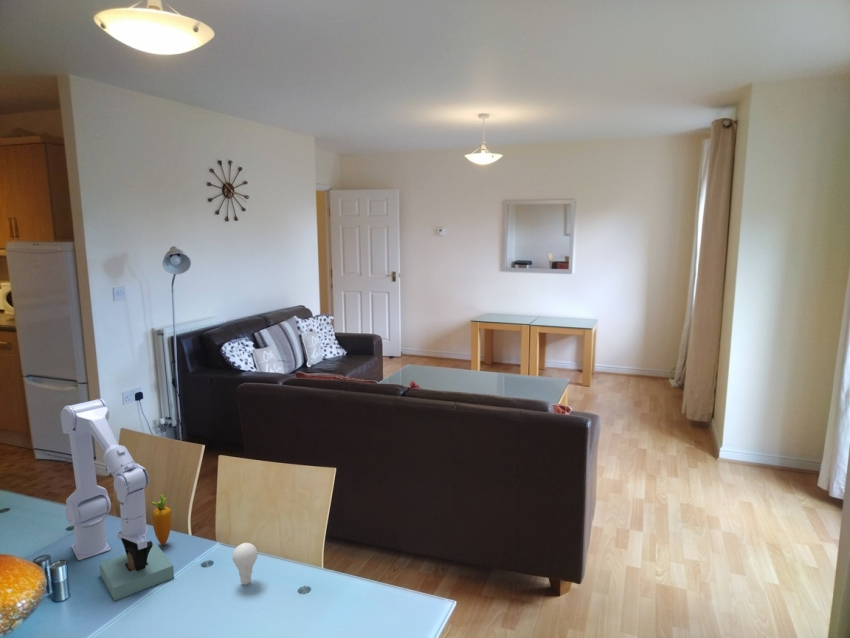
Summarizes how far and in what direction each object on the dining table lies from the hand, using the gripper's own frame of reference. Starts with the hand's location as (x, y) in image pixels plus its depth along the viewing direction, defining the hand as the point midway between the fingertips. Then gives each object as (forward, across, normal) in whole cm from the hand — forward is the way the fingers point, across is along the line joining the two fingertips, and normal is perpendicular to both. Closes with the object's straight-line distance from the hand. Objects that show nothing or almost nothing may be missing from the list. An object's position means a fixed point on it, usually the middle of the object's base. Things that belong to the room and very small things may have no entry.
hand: (136, 562), depth 142 cm
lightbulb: (+4, +22, +20) cm, 30 cm away
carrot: (+4, -11, +10) cm, 15 cm away
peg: (+4, 0, 0) cm, 4 cm away
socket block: (+4, 0, 0) cm, 4 cm away
